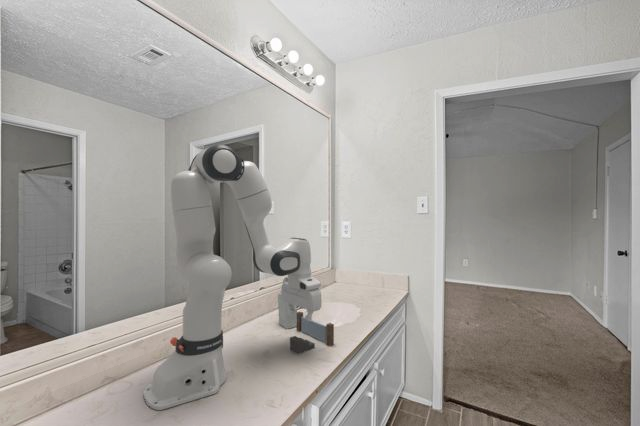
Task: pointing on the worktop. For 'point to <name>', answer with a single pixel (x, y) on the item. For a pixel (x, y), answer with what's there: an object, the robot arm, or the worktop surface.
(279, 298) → the skincare box
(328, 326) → the door frame
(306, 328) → the door
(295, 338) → the doorstop wedge
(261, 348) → the worktop surface
